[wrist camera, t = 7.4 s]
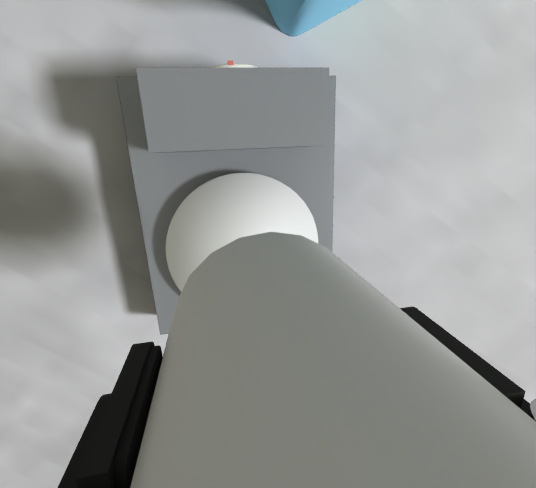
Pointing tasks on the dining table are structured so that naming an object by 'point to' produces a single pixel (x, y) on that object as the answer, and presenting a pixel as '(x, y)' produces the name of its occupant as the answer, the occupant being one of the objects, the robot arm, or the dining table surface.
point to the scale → (226, 162)
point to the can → (318, 386)
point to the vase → (304, 13)
